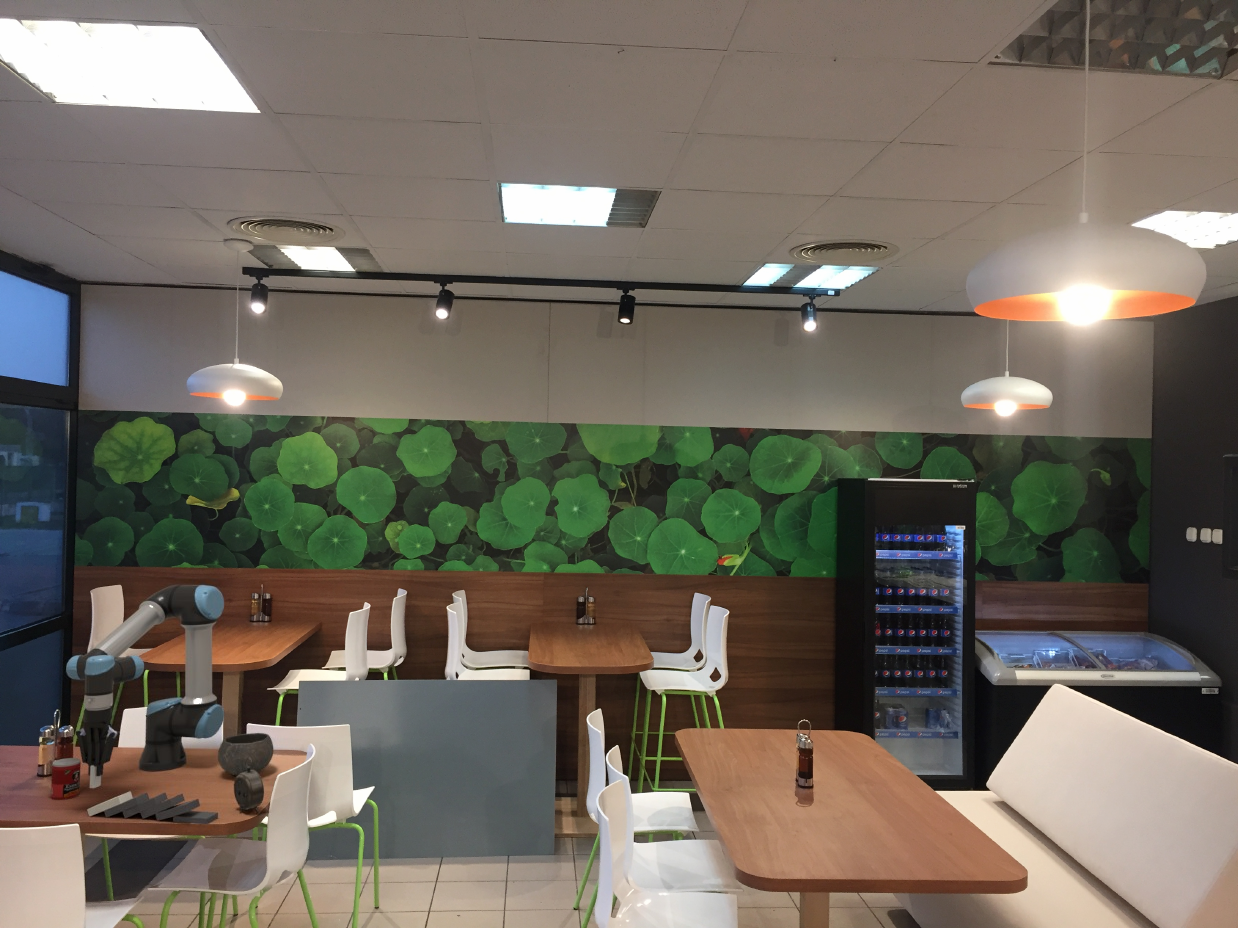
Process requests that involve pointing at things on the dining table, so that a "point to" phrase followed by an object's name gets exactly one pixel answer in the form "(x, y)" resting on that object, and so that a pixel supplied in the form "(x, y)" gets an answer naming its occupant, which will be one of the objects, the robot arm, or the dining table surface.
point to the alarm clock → (249, 789)
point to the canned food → (65, 778)
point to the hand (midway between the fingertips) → (95, 786)
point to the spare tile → (109, 803)
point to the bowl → (245, 752)
